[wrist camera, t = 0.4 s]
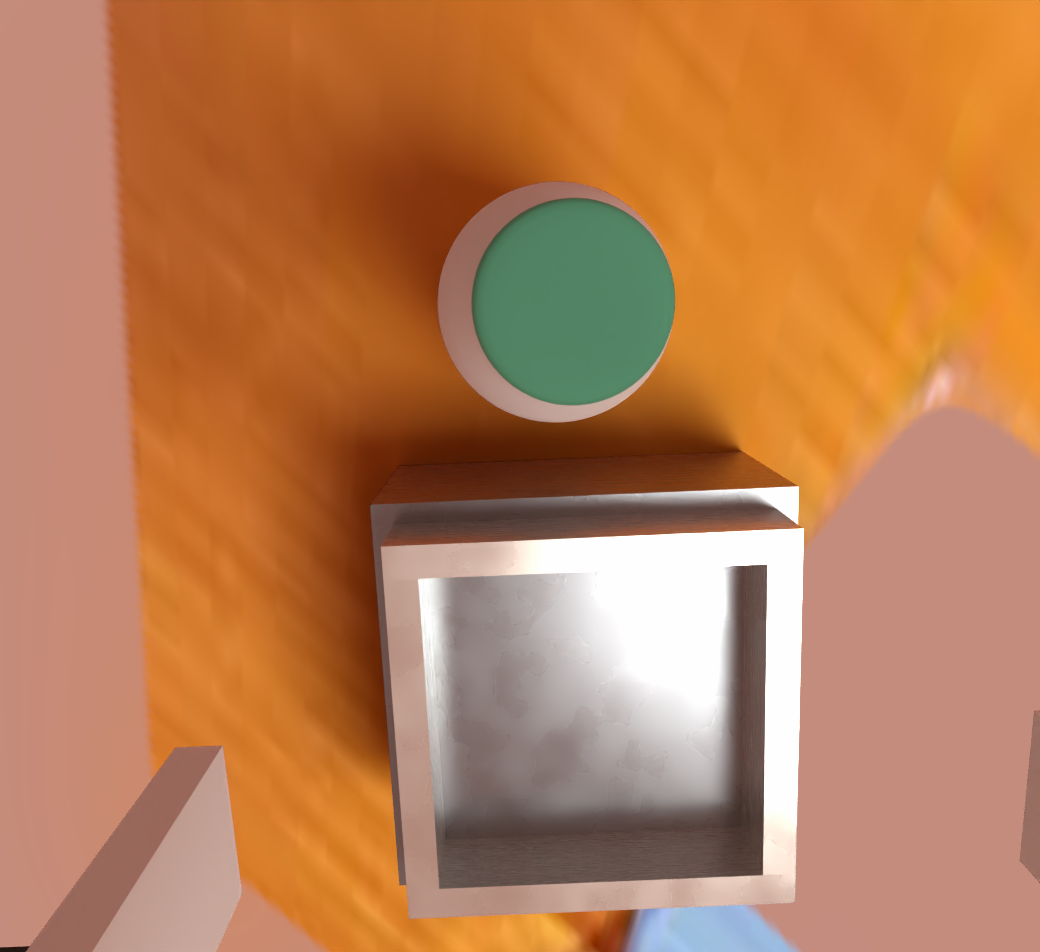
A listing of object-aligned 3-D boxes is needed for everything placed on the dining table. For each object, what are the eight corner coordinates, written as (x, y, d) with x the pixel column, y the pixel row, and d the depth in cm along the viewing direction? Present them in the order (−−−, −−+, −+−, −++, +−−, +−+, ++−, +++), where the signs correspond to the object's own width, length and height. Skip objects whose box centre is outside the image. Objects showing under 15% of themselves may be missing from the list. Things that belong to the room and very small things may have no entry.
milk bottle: (516, 423, 39) (519, 538, 20) (424, 278, 38) (329, 246, 18) (660, 333, 39) (813, 359, 19) (571, 182, 37) (636, 41, 18)
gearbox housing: (398, 465, 40) (355, 525, 29) (742, 451, 40) (827, 504, 29) (422, 800, 43) (391, 966, 32) (739, 787, 43) (814, 948, 32)
